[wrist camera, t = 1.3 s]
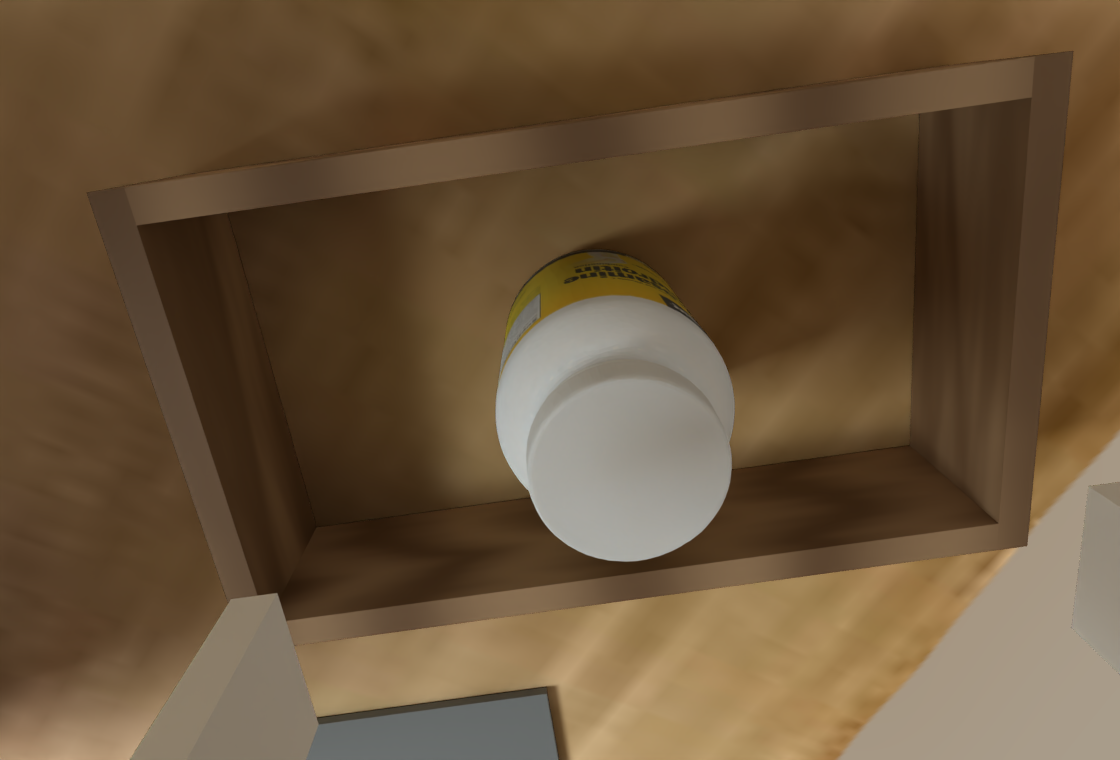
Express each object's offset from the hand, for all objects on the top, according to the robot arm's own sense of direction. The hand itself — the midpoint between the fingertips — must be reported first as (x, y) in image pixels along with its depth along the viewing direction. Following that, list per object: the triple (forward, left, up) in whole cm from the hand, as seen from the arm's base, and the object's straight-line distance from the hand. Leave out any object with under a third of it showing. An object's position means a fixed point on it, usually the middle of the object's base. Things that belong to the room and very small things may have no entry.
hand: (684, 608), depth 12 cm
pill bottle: (0, 0, -17) cm, 17 cm away
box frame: (0, 0, -16) cm, 16 cm away
